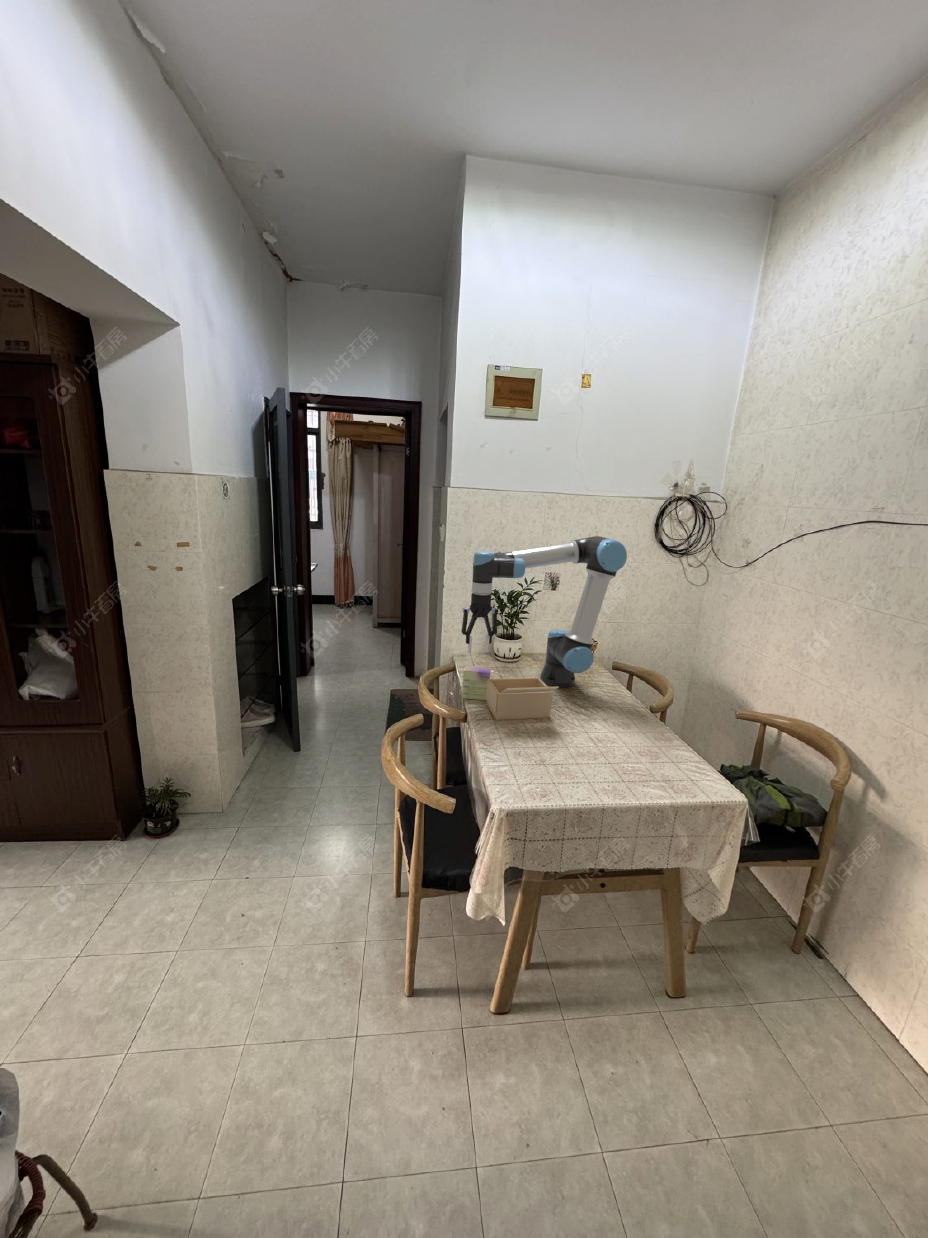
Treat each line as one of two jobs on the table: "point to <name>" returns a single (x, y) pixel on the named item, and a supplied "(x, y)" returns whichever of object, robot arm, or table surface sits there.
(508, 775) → the table surface
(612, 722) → the table surface
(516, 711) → the carton
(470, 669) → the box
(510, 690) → the flap
